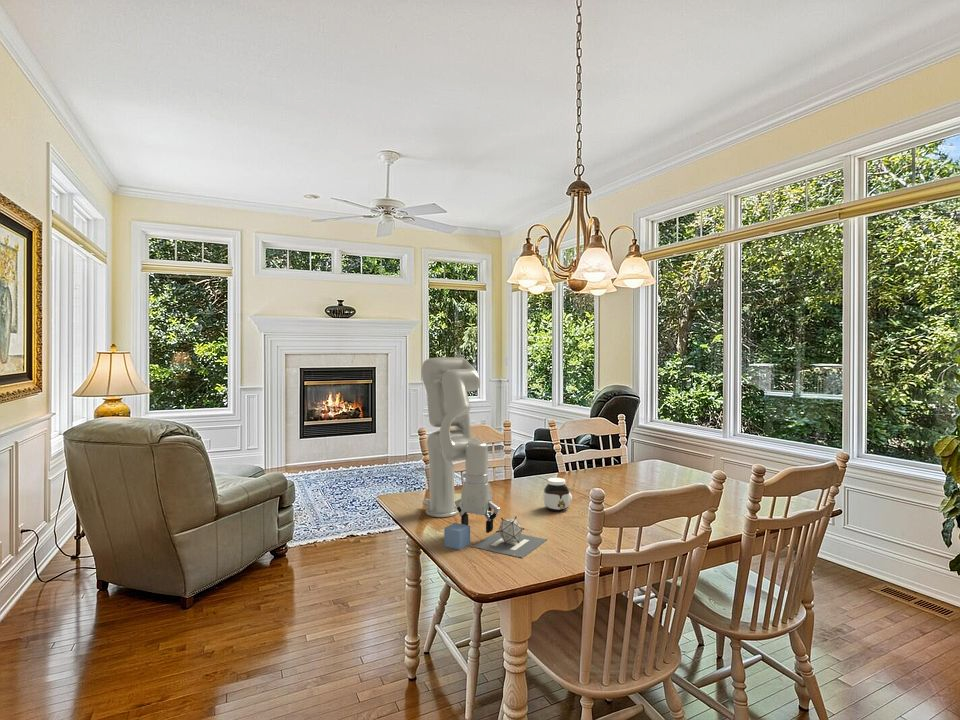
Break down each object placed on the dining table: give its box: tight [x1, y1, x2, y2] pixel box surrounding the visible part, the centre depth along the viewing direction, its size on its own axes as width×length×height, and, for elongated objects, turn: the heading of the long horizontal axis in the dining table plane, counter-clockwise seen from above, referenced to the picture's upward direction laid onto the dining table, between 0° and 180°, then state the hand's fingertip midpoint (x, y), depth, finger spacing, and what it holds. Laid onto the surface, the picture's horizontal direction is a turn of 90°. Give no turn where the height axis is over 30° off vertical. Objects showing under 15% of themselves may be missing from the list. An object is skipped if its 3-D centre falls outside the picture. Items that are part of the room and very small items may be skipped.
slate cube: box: [443, 522, 471, 551], centre depth 171 cm, size 6×6×6 cm
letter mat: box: [472, 531, 548, 559], centre depth 172 cm, size 18×18×1 cm
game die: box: [495, 515, 526, 544], centre depth 172 cm, size 9×8×10 cm
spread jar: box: [543, 477, 573, 513], centre depth 210 cm, size 12×11×12 cm
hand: (477, 529), depth 179 cm, fingers open, 9 cm apart
